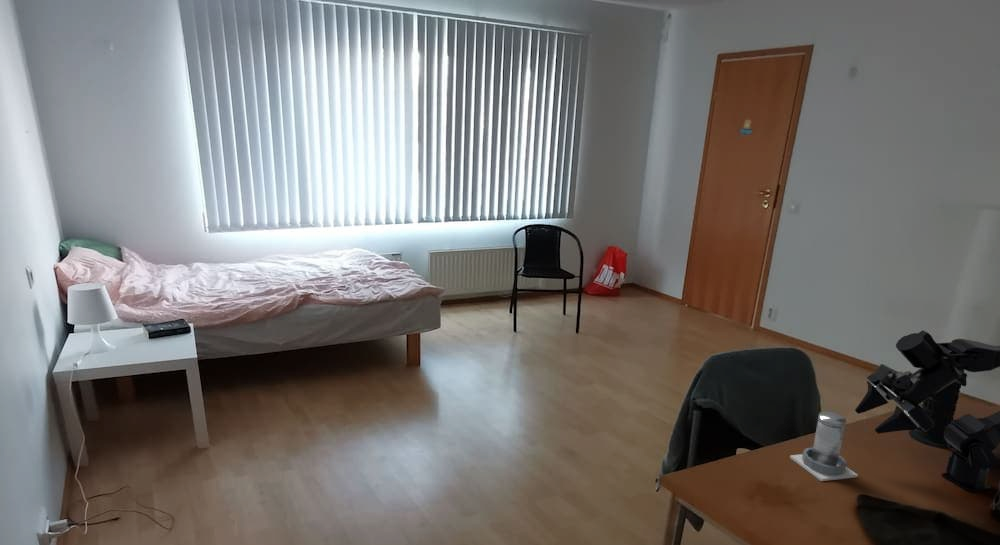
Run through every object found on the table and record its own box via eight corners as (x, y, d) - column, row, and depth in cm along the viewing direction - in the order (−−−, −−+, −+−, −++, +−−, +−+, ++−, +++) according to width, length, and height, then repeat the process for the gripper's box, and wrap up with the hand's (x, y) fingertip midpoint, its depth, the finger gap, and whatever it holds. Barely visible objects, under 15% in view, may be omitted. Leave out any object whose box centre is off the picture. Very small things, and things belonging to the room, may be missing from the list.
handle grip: (920, 445, 143) (964, 451, 141) (942, 350, 137) (987, 354, 135) (901, 427, 153) (941, 432, 151) (920, 337, 147) (963, 341, 145)
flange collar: (857, 477, 128) (859, 467, 127) (821, 481, 125) (823, 471, 125) (824, 454, 137) (825, 444, 137) (789, 457, 135) (791, 448, 134)
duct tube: (841, 467, 130) (851, 419, 127) (828, 473, 127) (837, 424, 125) (819, 456, 135) (827, 409, 132) (805, 461, 132) (813, 414, 129)
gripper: (882, 341, 132) (826, 380, 136) (929, 373, 114) (863, 417, 118) (911, 373, 133) (855, 411, 137) (963, 410, 115) (896, 452, 119)
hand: (865, 421), depth 128 cm, fingers open, 9 cm apart
